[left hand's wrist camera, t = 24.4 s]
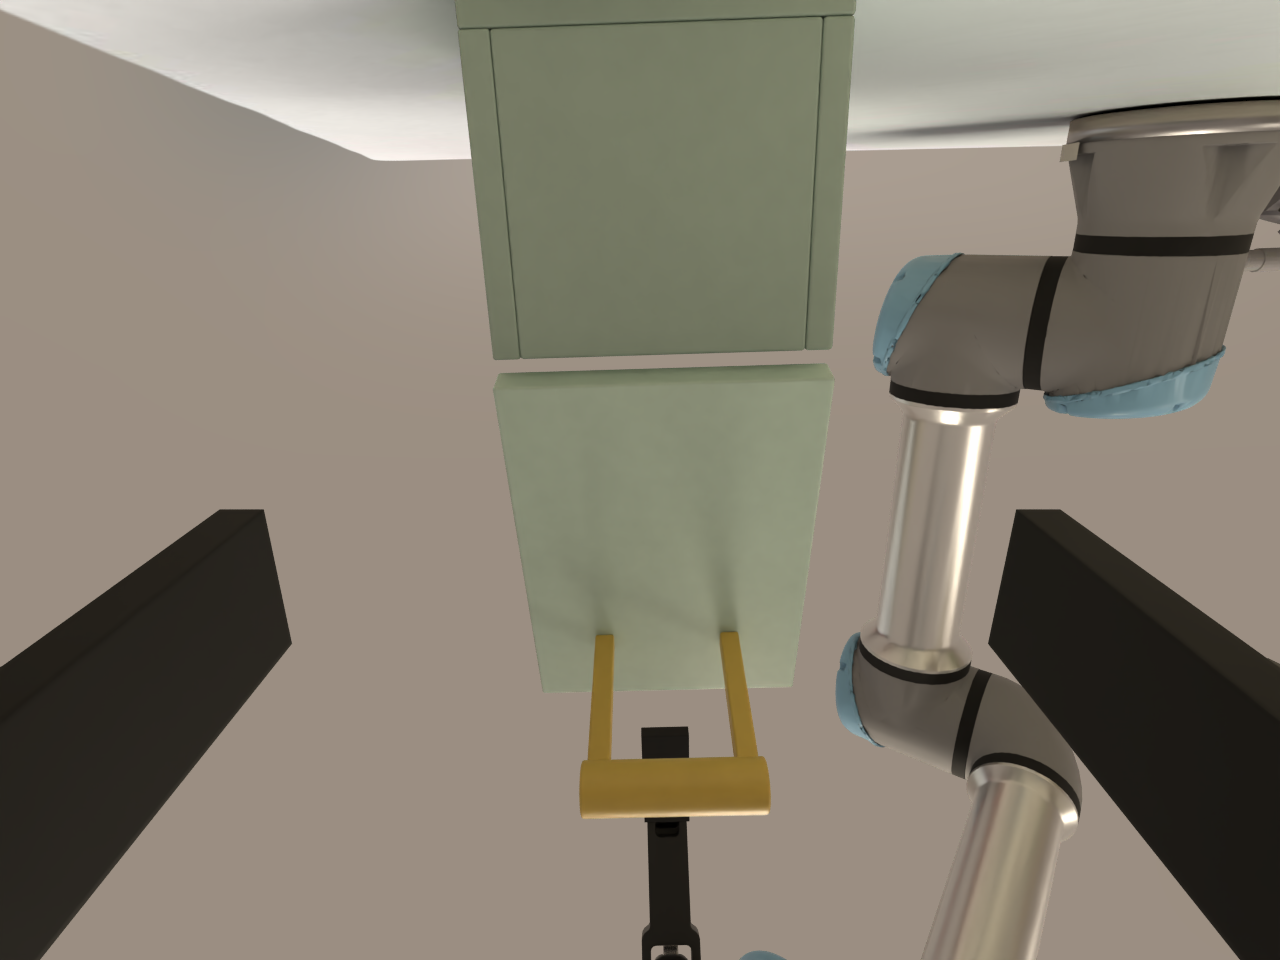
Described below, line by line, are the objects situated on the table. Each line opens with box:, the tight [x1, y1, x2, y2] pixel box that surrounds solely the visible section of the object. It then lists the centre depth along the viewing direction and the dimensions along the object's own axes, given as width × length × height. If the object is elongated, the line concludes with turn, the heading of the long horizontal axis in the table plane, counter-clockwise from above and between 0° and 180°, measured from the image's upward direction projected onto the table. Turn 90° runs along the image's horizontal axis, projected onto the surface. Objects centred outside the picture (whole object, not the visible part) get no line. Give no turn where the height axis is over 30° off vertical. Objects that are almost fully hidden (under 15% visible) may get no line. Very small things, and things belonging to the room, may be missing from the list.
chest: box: [455, 0, 856, 360], centre depth 25 cm, size 13×10×9 cm
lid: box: [493, 363, 835, 819], centre depth 22 cm, size 14×10×8 cm
